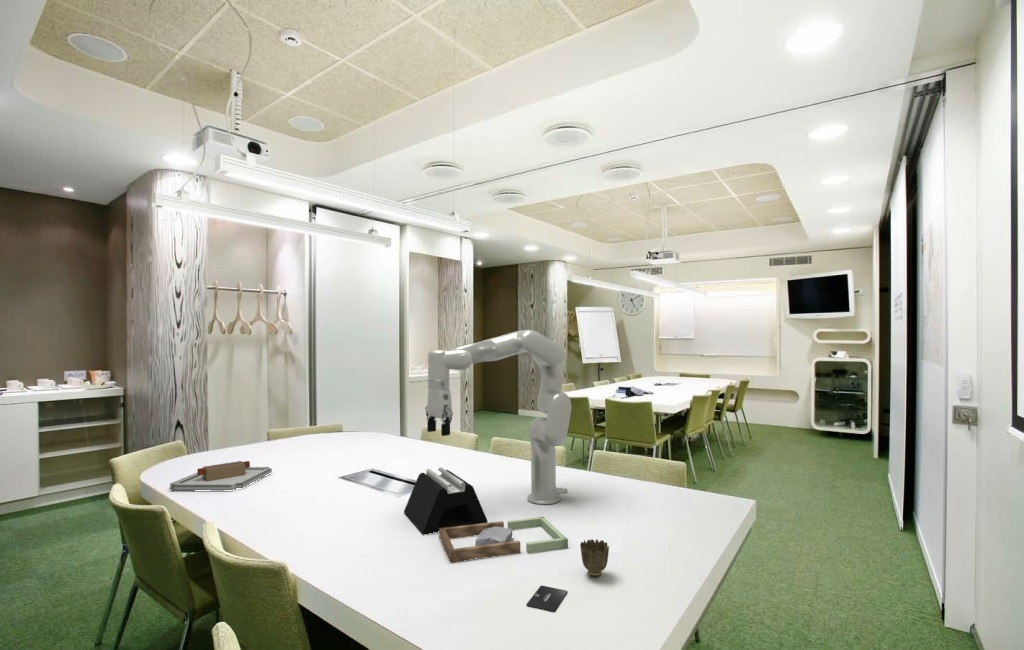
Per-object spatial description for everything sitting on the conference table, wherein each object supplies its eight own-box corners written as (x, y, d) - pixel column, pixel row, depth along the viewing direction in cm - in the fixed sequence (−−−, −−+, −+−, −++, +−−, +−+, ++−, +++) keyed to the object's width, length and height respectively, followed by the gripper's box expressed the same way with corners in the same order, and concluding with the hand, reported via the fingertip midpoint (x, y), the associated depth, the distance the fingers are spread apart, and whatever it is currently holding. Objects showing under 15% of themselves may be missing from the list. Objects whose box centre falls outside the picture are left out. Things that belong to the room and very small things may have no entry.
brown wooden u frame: (502, 530, 158) (502, 520, 158) (520, 552, 141) (520, 542, 141) (439, 538, 152) (439, 528, 152) (449, 562, 135) (449, 551, 135)
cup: (577, 569, 131) (577, 539, 131) (604, 568, 131) (604, 538, 131) (584, 583, 123) (583, 550, 123) (612, 581, 124) (612, 549, 124)
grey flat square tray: (237, 493, 201) (238, 474, 201) (165, 492, 202) (166, 474, 202) (274, 473, 231) (274, 457, 231) (211, 473, 232) (211, 457, 232)
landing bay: (543, 524, 163) (543, 516, 164) (568, 547, 144) (567, 539, 145) (507, 528, 160) (507, 520, 160) (528, 553, 141) (528, 544, 141)
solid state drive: (525, 607, 112) (525, 604, 112) (541, 587, 122) (540, 585, 122) (554, 614, 110) (554, 611, 110) (567, 593, 119) (567, 590, 119)
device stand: (422, 536, 154) (422, 488, 155) (403, 514, 174) (404, 471, 175) (487, 524, 165) (487, 478, 165) (462, 504, 185) (462, 464, 185)
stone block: (474, 557, 143) (507, 553, 141) (471, 540, 143) (503, 536, 141) (484, 543, 154) (515, 538, 152) (481, 527, 155) (512, 523, 153)
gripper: (460, 385, 169) (460, 435, 169) (435, 382, 183) (435, 429, 182) (442, 387, 165) (441, 438, 164) (417, 383, 178) (417, 431, 178)
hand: (438, 433), depth 173 cm, fingers open, 9 cm apart
